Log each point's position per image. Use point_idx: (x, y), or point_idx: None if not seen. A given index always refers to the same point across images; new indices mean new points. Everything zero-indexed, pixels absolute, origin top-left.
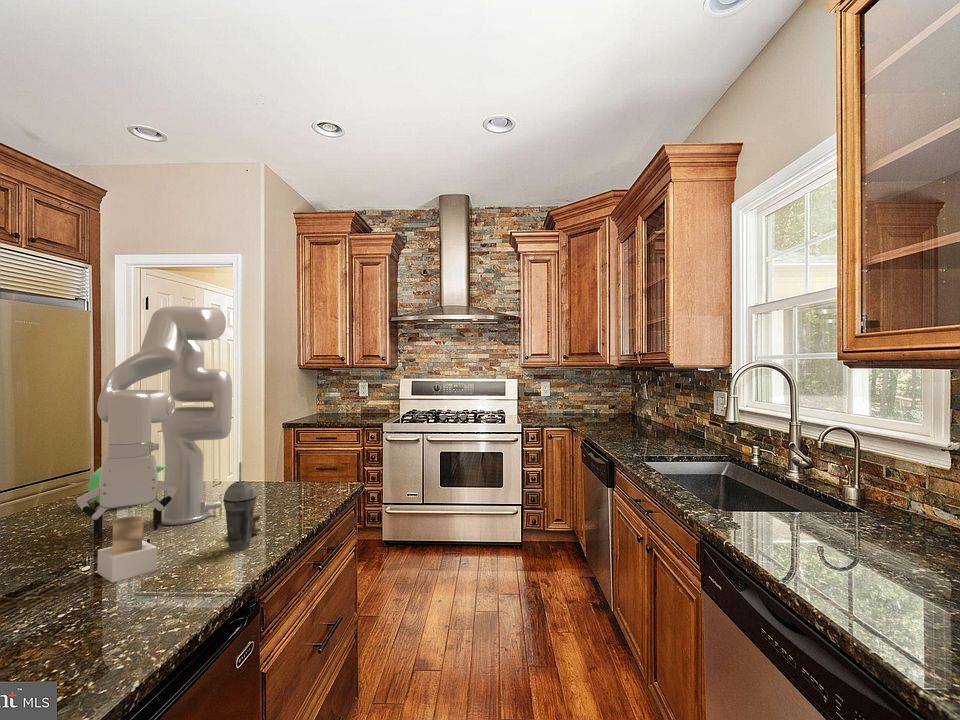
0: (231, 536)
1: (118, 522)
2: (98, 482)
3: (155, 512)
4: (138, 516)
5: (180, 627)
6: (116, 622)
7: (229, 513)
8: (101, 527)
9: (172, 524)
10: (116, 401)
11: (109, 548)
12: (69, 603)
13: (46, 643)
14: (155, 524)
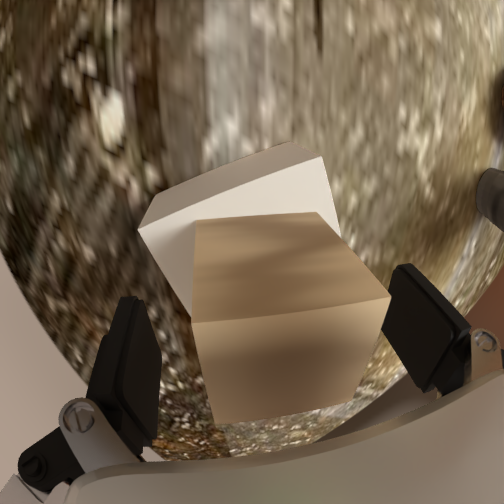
0: (500, 223)
1: (239, 406)
2: None
3: (422, 389)
4: (363, 329)
5: (301, 440)
6: (238, 428)
7: None
8: (156, 402)
9: None
10: None
11: (184, 233)
12: None
13: (169, 437)
14: (393, 342)
